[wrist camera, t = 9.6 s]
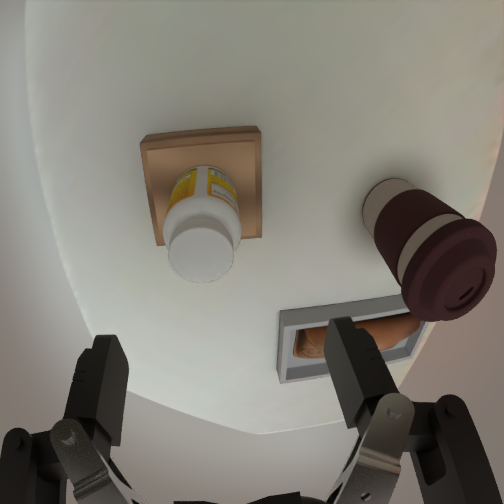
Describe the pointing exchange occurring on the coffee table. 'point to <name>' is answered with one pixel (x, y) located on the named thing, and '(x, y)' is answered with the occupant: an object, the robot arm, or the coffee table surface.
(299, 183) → the coffee table surface
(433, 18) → the coffee table surface
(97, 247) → the coffee table surface
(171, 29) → the coffee table surface
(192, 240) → the supplement bottle
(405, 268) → the coffee cup
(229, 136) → the walnut base
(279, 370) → the tray
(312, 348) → the brown elongated piece
